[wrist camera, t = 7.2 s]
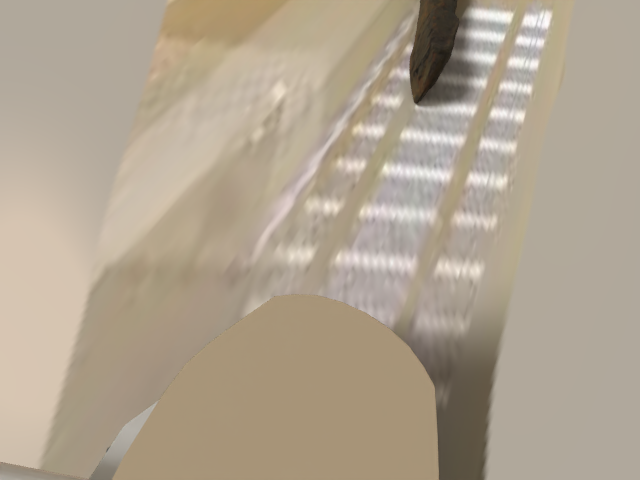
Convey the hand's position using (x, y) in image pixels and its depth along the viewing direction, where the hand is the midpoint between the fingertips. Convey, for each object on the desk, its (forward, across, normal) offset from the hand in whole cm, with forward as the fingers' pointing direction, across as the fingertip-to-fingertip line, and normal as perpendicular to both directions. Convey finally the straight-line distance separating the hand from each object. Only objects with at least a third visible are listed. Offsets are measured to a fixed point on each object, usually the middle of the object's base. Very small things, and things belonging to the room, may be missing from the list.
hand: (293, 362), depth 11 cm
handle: (+6, 0, +6) cm, 9 cm away
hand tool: (+28, -7, -16) cm, 33 cm away
